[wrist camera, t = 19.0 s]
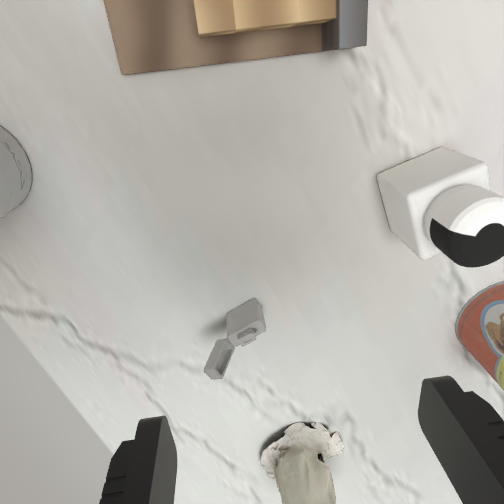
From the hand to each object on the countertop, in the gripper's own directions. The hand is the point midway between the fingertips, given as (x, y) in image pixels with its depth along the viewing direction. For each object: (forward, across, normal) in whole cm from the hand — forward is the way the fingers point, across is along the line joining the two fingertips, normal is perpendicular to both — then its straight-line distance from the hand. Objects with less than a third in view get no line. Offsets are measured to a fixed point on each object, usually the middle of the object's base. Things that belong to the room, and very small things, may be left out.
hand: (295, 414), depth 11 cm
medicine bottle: (+28, -18, +4) cm, 34 cm away
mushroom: (+28, -4, +44) cm, 53 cm away
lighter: (+28, +3, +17) cm, 33 cm away
